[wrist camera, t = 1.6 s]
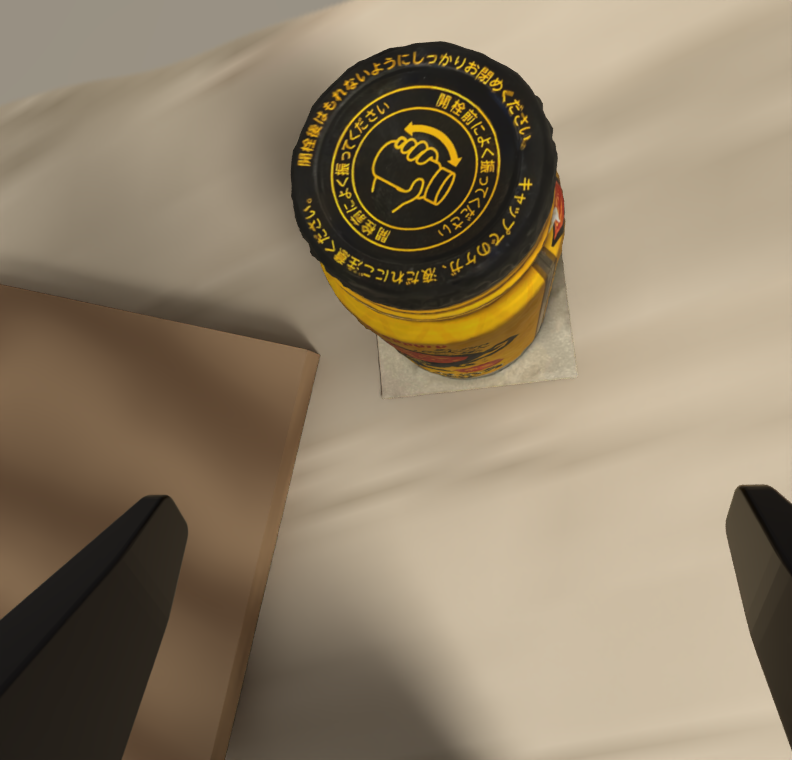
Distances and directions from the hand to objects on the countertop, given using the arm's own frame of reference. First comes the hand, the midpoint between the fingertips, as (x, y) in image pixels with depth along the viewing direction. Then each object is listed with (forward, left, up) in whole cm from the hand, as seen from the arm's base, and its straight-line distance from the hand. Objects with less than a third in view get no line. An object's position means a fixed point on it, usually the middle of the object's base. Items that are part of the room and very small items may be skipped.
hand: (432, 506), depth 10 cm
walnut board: (-6, +15, -13) cm, 21 cm away
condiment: (+7, +2, -13) cm, 15 cm away
